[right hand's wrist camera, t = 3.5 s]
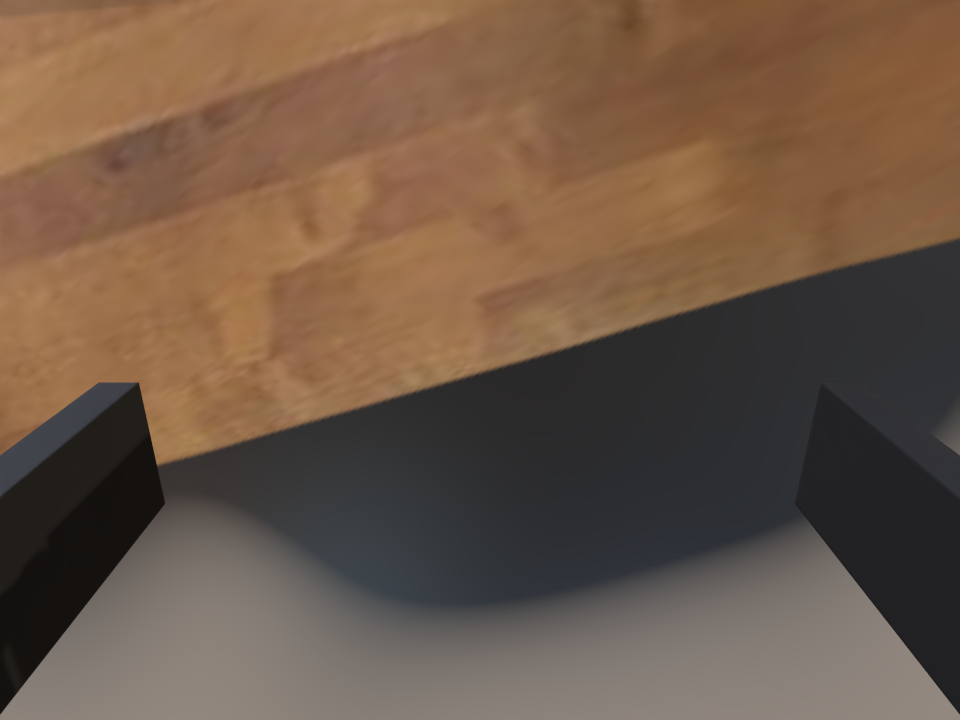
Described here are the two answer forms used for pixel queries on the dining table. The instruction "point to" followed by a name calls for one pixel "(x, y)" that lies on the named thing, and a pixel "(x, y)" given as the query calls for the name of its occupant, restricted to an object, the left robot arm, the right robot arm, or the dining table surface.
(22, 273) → the dining table surface
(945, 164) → the dining table surface
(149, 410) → the dining table surface
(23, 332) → the dining table surface
